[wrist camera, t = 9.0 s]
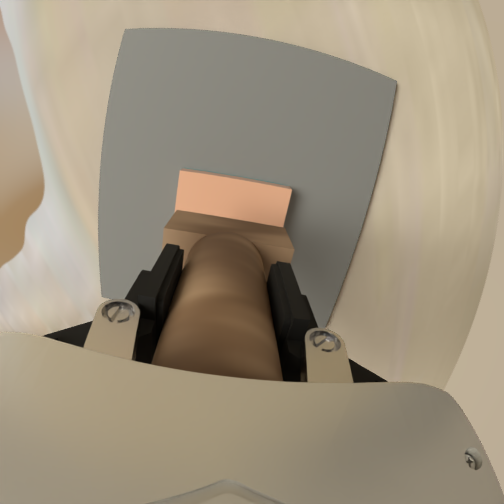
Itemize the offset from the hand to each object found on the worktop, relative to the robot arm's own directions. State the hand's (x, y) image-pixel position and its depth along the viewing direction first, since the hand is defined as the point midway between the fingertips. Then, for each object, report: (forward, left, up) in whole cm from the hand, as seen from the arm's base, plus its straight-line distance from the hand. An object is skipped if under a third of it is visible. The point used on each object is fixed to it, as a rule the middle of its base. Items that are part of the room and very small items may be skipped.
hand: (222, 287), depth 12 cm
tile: (0, +2, -10) cm, 11 cm away
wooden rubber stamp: (0, 0, -5) cm, 5 cm away
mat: (0, -2, -12) cm, 12 cm away
